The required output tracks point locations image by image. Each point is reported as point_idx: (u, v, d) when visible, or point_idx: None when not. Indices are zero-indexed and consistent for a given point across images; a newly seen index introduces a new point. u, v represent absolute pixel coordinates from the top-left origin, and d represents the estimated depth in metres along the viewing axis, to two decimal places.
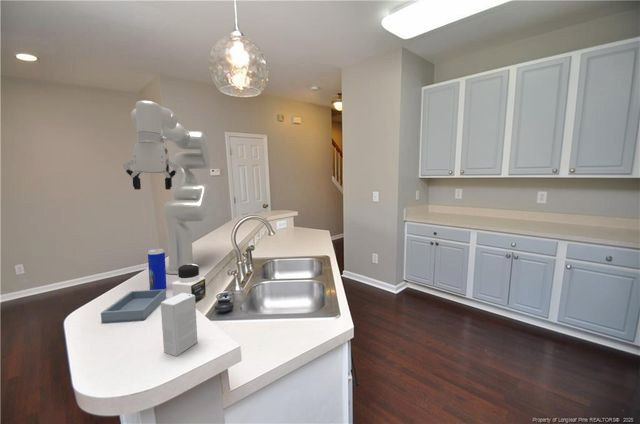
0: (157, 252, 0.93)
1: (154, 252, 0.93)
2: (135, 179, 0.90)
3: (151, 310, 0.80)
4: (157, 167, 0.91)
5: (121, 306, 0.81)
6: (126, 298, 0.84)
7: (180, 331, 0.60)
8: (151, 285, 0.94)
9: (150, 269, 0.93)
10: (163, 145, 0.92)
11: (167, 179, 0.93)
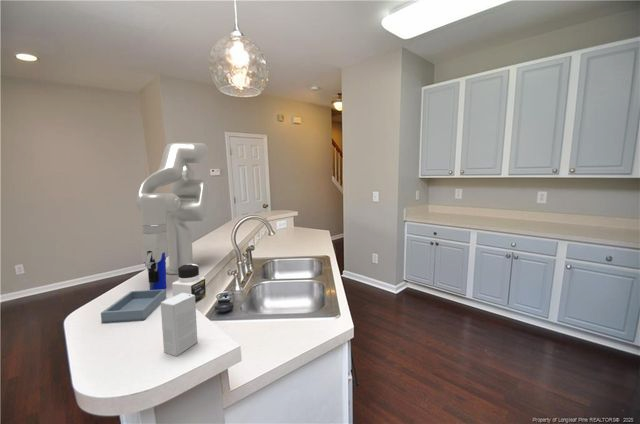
0: None
1: None
2: (158, 272, 0.93)
3: (151, 310, 0.80)
4: (166, 253, 0.98)
5: (121, 306, 0.81)
6: (126, 298, 0.84)
7: (180, 331, 0.60)
8: (151, 285, 0.94)
9: None
10: None
11: None
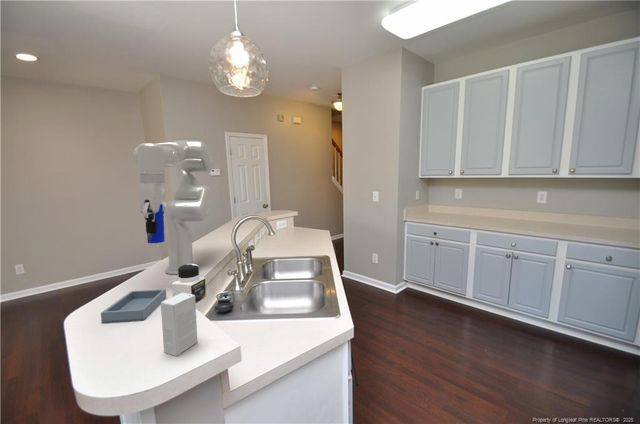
0: None
1: None
2: (156, 223, 0.92)
3: (151, 310, 0.80)
4: (163, 206, 0.97)
5: (121, 306, 0.81)
6: (126, 298, 0.84)
7: (180, 331, 0.60)
8: (149, 236, 0.93)
9: None
10: None
11: None
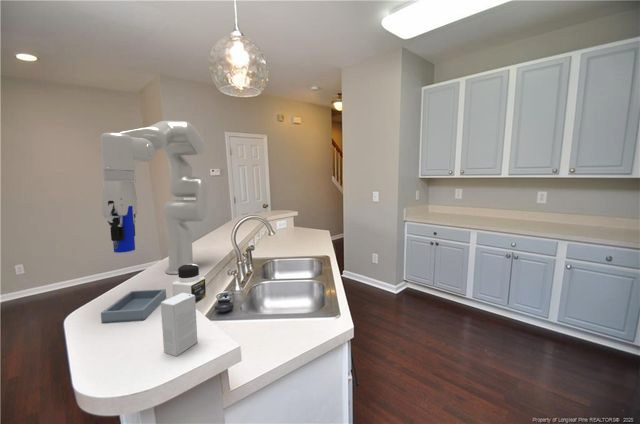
0: None
1: None
2: (123, 228, 0.77)
3: (151, 310, 0.80)
4: (134, 209, 0.81)
5: (121, 306, 0.81)
6: (126, 298, 0.84)
7: (180, 331, 0.60)
8: (115, 245, 0.77)
9: None
10: None
11: None
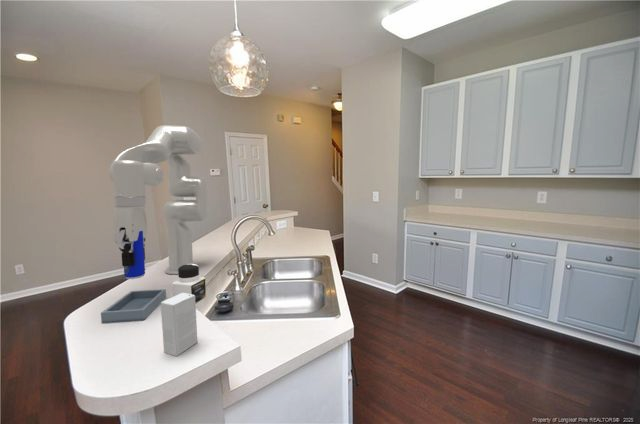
0: None
1: None
2: (134, 254, 0.78)
3: (151, 310, 0.80)
4: (144, 233, 0.82)
5: (121, 306, 0.81)
6: (126, 298, 0.84)
7: (180, 331, 0.60)
8: (125, 270, 0.78)
9: None
10: None
11: None
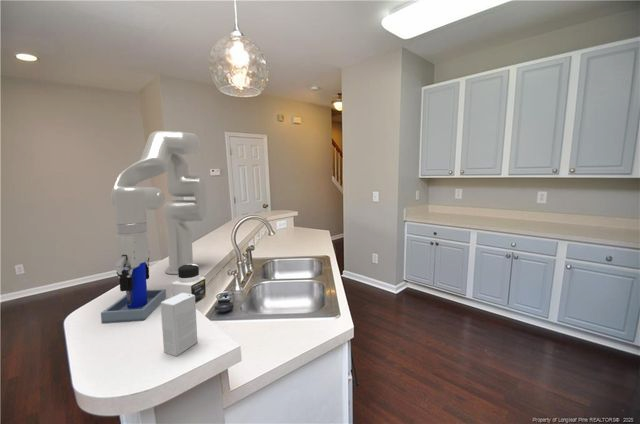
0: None
1: None
2: (132, 278, 0.76)
3: (151, 310, 0.80)
4: (146, 258, 0.83)
5: (121, 306, 0.81)
6: (126, 298, 0.84)
7: (180, 331, 0.60)
8: (128, 301, 0.79)
9: None
10: None
11: None
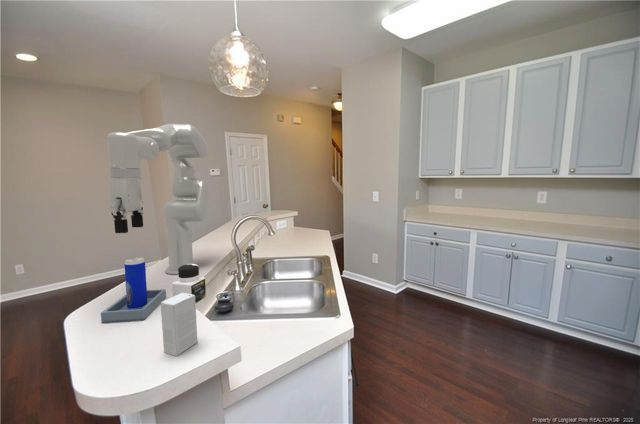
0: (135, 262, 0.79)
1: (132, 262, 0.78)
2: (126, 221, 0.79)
3: (151, 310, 0.80)
4: (139, 205, 0.86)
5: (121, 306, 0.81)
6: (126, 298, 0.84)
7: (180, 331, 0.60)
8: (128, 301, 0.79)
9: (127, 282, 0.79)
10: None
11: None
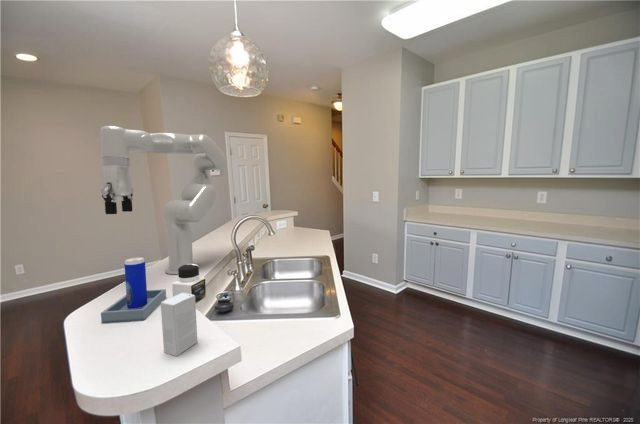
0: (135, 262, 0.79)
1: (132, 262, 0.78)
2: None
3: (151, 310, 0.80)
4: (129, 191, 0.96)
5: (121, 306, 0.81)
6: (126, 298, 0.84)
7: (180, 331, 0.60)
8: (128, 301, 0.79)
9: (127, 282, 0.79)
10: None
11: None
